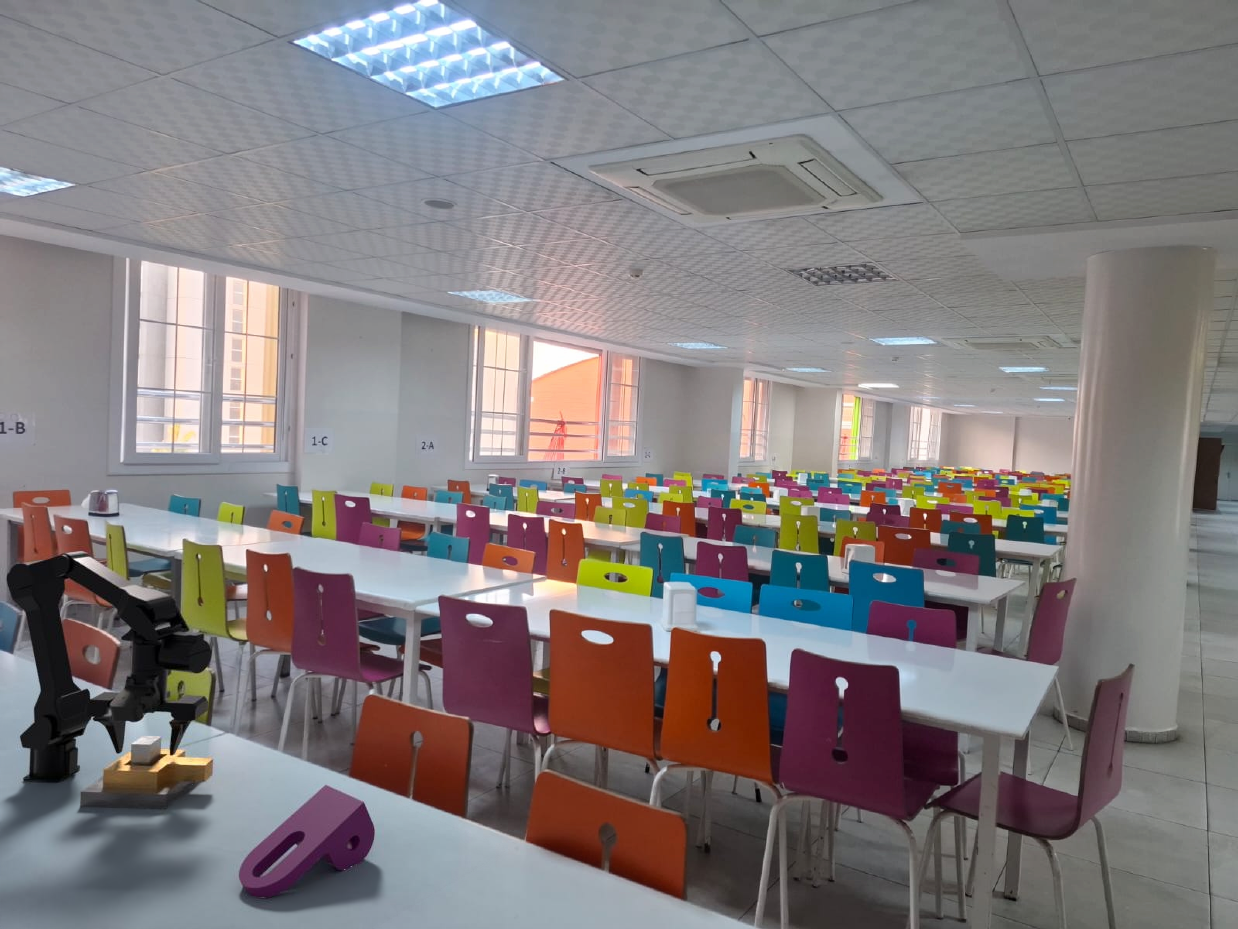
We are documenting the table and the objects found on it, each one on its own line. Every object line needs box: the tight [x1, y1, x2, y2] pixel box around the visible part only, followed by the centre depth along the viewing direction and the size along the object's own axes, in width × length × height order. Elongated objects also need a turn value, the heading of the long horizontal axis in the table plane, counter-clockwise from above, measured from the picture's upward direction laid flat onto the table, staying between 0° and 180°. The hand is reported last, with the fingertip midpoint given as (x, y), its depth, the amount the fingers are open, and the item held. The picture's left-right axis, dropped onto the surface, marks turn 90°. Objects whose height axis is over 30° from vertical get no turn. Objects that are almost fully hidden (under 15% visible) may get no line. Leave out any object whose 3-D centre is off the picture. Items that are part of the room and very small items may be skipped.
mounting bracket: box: [238, 784, 376, 898], centre depth 123 cm, size 10×8×18 cm
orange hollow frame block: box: [79, 748, 214, 810], centre depth 146 cm, size 18×14×6 cm
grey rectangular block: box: [130, 735, 162, 766], centre depth 146 cm, size 3×4×9 cm
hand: (145, 754), depth 146 cm, fingers open, 9 cm apart
